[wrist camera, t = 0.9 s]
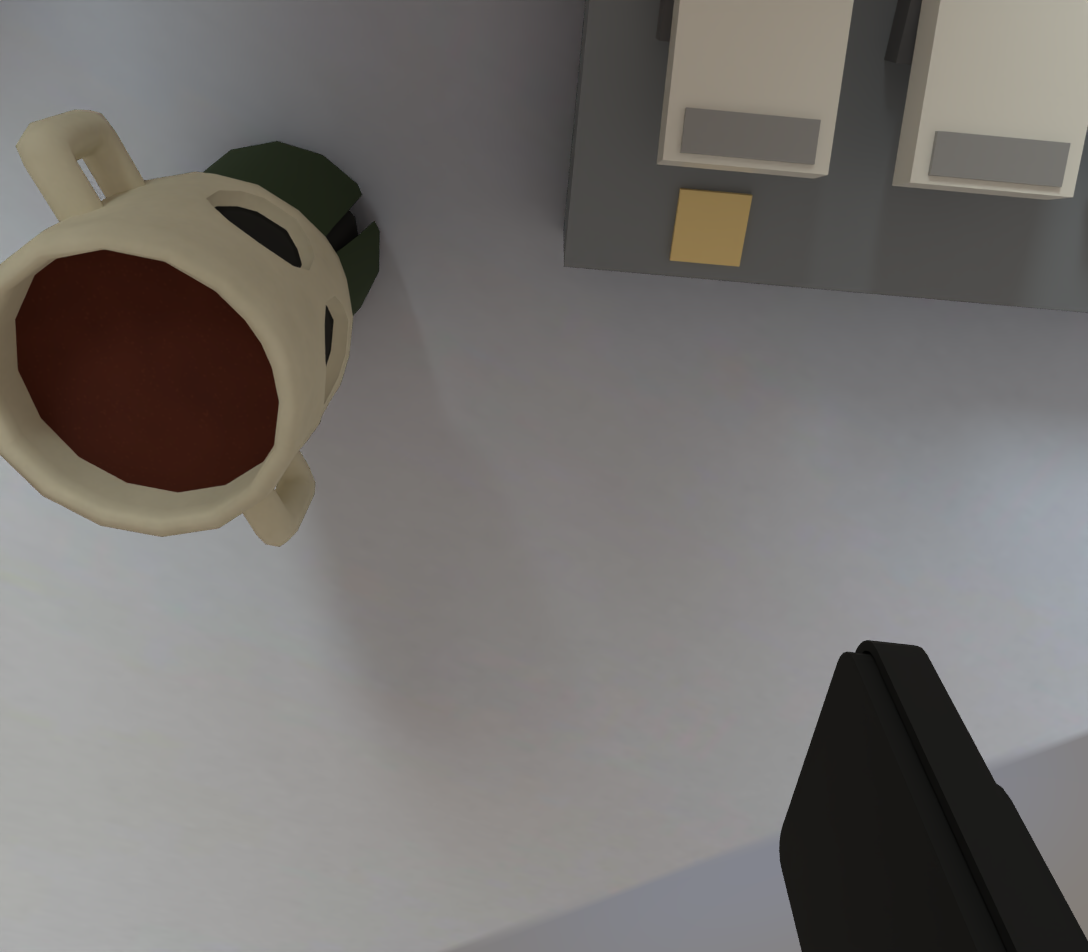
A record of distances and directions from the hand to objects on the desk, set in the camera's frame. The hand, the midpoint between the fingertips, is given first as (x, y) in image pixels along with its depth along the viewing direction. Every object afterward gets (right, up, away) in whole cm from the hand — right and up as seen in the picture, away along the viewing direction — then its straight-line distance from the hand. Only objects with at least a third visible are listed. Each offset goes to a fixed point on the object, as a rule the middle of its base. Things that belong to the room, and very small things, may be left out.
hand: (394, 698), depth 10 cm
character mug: (-7, +10, +21) cm, 25 cm away
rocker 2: (+13, +13, +13) cm, 22 cm away
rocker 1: (+7, +13, +12) cm, 19 cm away
